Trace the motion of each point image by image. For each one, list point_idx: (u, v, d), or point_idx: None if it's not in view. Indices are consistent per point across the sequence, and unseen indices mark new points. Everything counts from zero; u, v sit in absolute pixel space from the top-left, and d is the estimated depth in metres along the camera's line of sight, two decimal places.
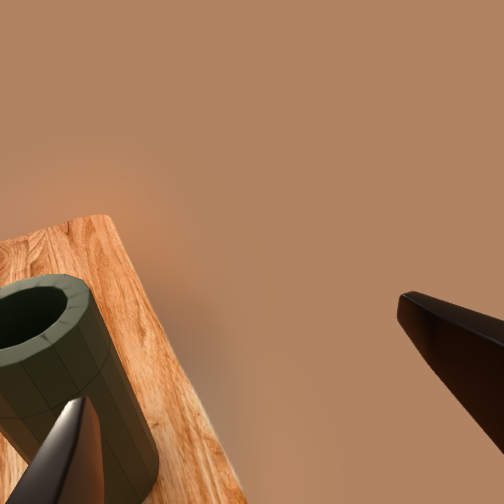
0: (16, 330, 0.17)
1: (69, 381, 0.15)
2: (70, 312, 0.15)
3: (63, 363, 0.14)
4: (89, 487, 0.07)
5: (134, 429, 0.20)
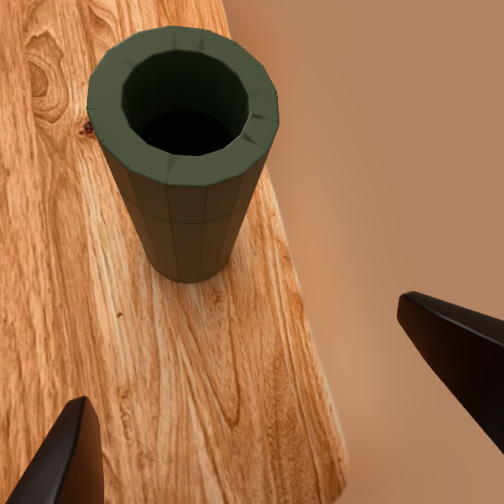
0: (155, 99, 0.13)
1: (231, 204, 0.13)
2: (256, 125, 0.11)
3: (238, 190, 0.12)
4: (89, 487, 0.07)
5: None
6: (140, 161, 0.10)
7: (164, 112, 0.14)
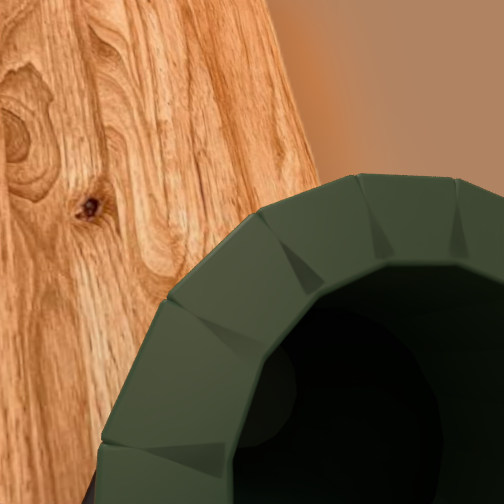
0: None
1: None
2: None
3: None
4: None
5: None
6: None
7: None
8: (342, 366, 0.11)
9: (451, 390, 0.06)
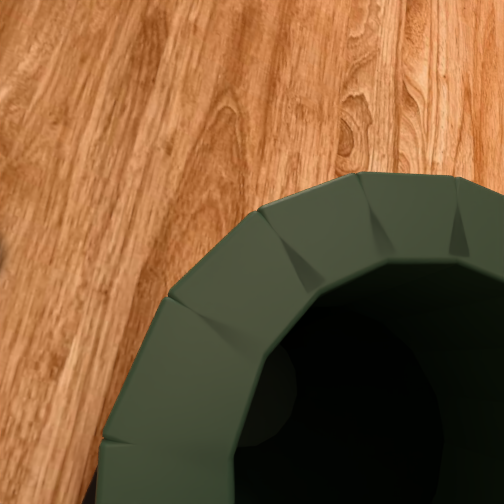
0: None
1: None
2: None
3: None
4: None
5: None
6: None
7: None
8: (342, 365, 0.11)
9: (452, 389, 0.06)
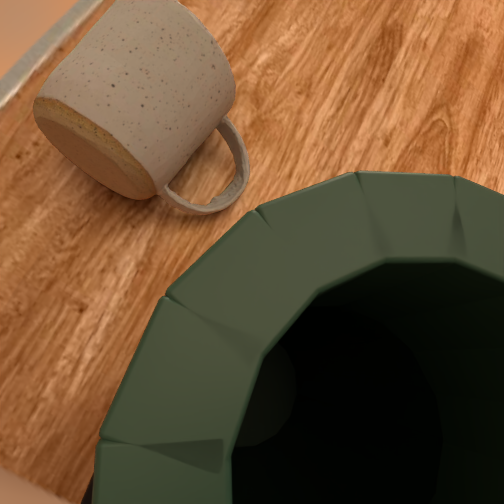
0: None
1: None
2: None
3: None
4: None
5: None
6: None
7: None
8: (342, 365, 0.11)
9: (451, 390, 0.06)
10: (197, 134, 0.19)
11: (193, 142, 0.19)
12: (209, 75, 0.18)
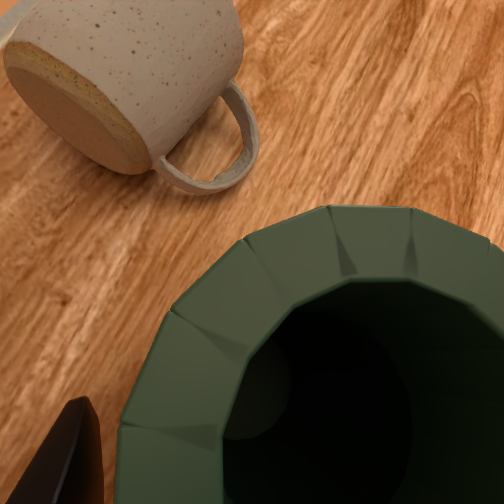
0: None
1: None
2: None
3: None
4: (89, 487, 0.07)
5: None
6: None
7: None
8: (331, 363, 0.12)
9: (419, 385, 0.07)
10: (199, 96, 0.16)
11: (195, 105, 0.16)
12: (213, 22, 0.15)
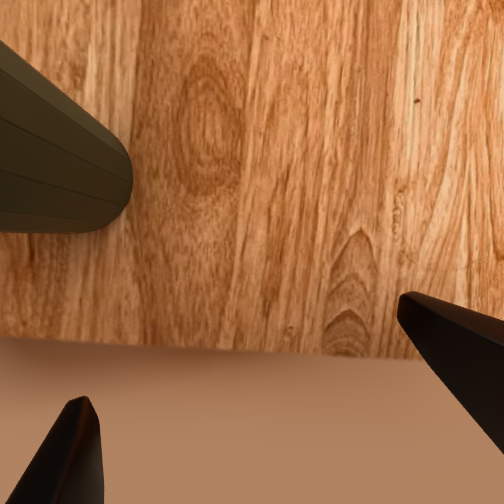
0: None
1: None
2: None
3: None
4: (89, 487, 0.07)
5: (90, 151, 0.13)
6: None
7: None
8: None
9: None
10: None
11: None
12: None
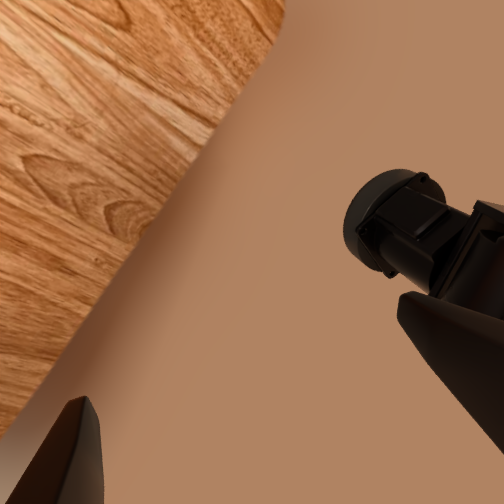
0: None
1: None
2: None
3: None
4: (89, 487, 0.07)
5: None
6: None
7: None
8: None
9: None
10: None
11: None
12: None
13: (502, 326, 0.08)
